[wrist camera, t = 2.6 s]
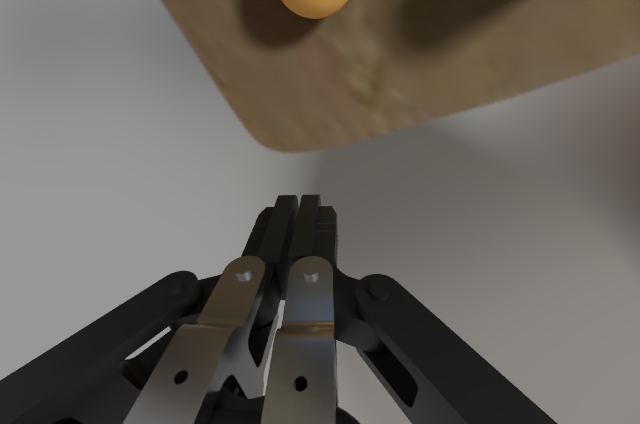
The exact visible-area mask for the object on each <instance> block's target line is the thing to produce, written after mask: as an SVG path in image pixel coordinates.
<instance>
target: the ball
mask: <svg viewBox="0 0 640 424" xmlns="http://www.w3.org/2000/svg"><path fill="white" fill-rule="evenodd" d="M281 1H282V2H283V3H284V4H285V5H286V6H287V7H288V8H289V9H290V10H291V11H293V12H294V13H296V14H298V15H300V16H302V17H305V18H310V19H319V18H324V17H327V16H330V15H332V14H334V13H335V12H336V11H338V10H339V9H340V8H341V7H342V6H343V5H344V4H345V3H346V2H347V1H348V0H281Z"/></svg>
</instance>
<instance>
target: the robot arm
mask: <svg viewBox="0 0 640 424" xmlns="http://www.w3.org/2000/svg"><path fill="white" fill-rule="evenodd" d="M337 242H338V239H337V214H336V212H335V211H334V209H333V207H332V206H327V207H326V206H321V199H320V195H302V198H301V202H300V206H298V199H297V196H296V195H279V196H278V198H277V201H276V203H275V206H274V207H267V208H265V209H264V210H263V211H262V212H261V213H260V214H259V215H258V218H257V220H256V223H255V225H254V227H253V230H252V232H251V234H250V237H249V239H248V241H247V244H246V246H245V249H244V251H243V253H242V256H241V257H239V258H237V259H235V260H233V261H232V262H231V263H229V264H228V266H226V268H225V269H224V271H223V273H222V274H221V275H218V276H214V277H210V278H206V279H201V280H198V279H197V277H196V275H195V274H194V273H192V272H189V271H178V272H175V273H172V274H170V275H167V276H166V277H164V278H163V279H161V280H159V281H158V282H156V283H155V284H153V285H151V286H150V287H148V288H147V289H145V290H143V291H142V292H140V293H139V294H137V295H135V296H134V297H132V298H131V299H129V300H127V301H126V302H124V303H123V304H121V305H119V306H118V307H116V308H115V309H113V310H112V311H110V312H108V313H107V314H105V315H104V316H102V317H100V318H99V319H97V320H96V321H94V322H93V323H91V324H89V325H88V326H86V327H85V328H83V329H81V330H80V331H78V332H77V333H75V334H73V335H72V336H70V337H69V338H67V339H65V340H64V341H62V342H61V343H59V344H58V345H56V346H54V347H53V348H51V349H50V350H48V351H46V352H45V353H43V354H42V355H40V356H38V357H37V358H35V359H34V360H32V361H31V362H29V363H27V364H26V365H24V366H23V367H21V368H19V369H18V370H16V371H15V372H13V373H11V374H10V375H8V376H7V377H5V378H4V379H2V380H0V424H360V423H359V422H358V421H357V420H356V419H355V418H354V417H353V416H351V415H350V414H349V413H347V412H346V411H344V410H343V409H341V408H339V407H338V381H337V349H336V340H338V341H341V342H343V343H346V344H349V345H351V346H354V347H356V350H357V352H358V353H359V355H360V356H361V357H362V358H363V360H364V361H365V362H366V364H367V365H368V366H369V368H370V369H371V370H372V372H373V373H374V374H375V376H376V377H377V378H378V380H379V381H380V382H381V383H382V385H383V386H384V387H385V389H386V390H387V391H388V393H389V394H390V395H391V397H392V398H393V399H394V400H395V402H396V403H397V404H398V406H399V407H400V408H401V410H402V411H403V412H404V414H405V415H406V416H407V418H408V419H409V420H410V421H411V422H412V424H557V423H556V422H555V421H554V420H553V419H551V418H550V417H549V416H548V415H547V414H546V413H545V412H544V411H542V410H541V409H540V408H539V407H538V406H537V405H536V404H535V403H533V402H532V401H531V400H530V399H529V398H528V397H526V396H525V395H524V394H523V393H522V392H521V391H520V390H519V389H518V388H516V387H515V386H514V385H513V384H512V383H510V382H509V380H507V379H506V378H505V377H504V376H503V375H502V374H501V373H499V372H498V371H497V370H496V369H495V368H494V367H493V366H492V365H490V364H489V363H488V362H487V361H486V360H485V359H484V358H482V357H481V356H480V355H479V354H478V353H477V352H476V351H475V350H474V349H472V348H471V347H470V346H469V345H468V344H467V343H466V342H465V341H463V340H462V339H461V338H460V337H459V336H458V335H457V334H455V333H454V332H453V331H452V330H451V329H450V328H449V327H447V326H446V325H445V324H444V323H443V322H442V321H441V320H440V319H439V318H437V317H436V316H435V315H434V314H433V313H432V312H430V310H428V309H427V308H426V307H425V306H424V305H423V304H422V303H420V302H419V301H418V300H417V299H416V298H415V297H414V296H413V295H411V294H410V293H409V292H408V291H407V290H406V289H405V288H403V287H402V286H401V285H400V284H399V283H398V282H397V281H395V280H394V279H393V278H391V277H389V276H386V275H382V274H372V275H368V276H366V277H364V278H362V279H361V280H357V279H354V278H351V277H348V276H346V275H345V274H343V273H342V272H341V271H340V270H339V269H338V268H337V244H338V243H337ZM280 300H285V307H284V314H283V321H282V326H281V328H279V329H277V331H276V334H275V330H276V326H277V322H278V319H279V314H278V307H279V303H280ZM168 326H169V327H170V329H171V330H170V331H169V332H168V333H167V334H165V335H164V336H163V337H161V338H160V339H159V340H157V341H156V342H155V343H153V344H152V345H151V346H149V347H148V348H147V349H145V350H144V351H143V352H141V353H140V354H139V355H137V356H136V357H134V358H132V359H127V360H125V358H126V357H128V356H129V355H130V354H132V353H133V352H134V351H136V350H137V349H138V348H140V347H141V346H142V345H144V344H145V343H147V342H148V341H149V340H151V339H152V338H153V337H155V336H156V335H157V334H159V333H160V332H161V331H163V330H164V329H165V328H167V327H168ZM274 334H275V338H274V343H273V350H272V357H271V363H270V369H269V375H268V381H267V387H266V393H265V396H263V387H264V383H263V382H264V381H263V378H264V370H265V366H266V363H267V359H268V355H269V352H270V348H271V345H272V341H273V337H274Z"/></svg>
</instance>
